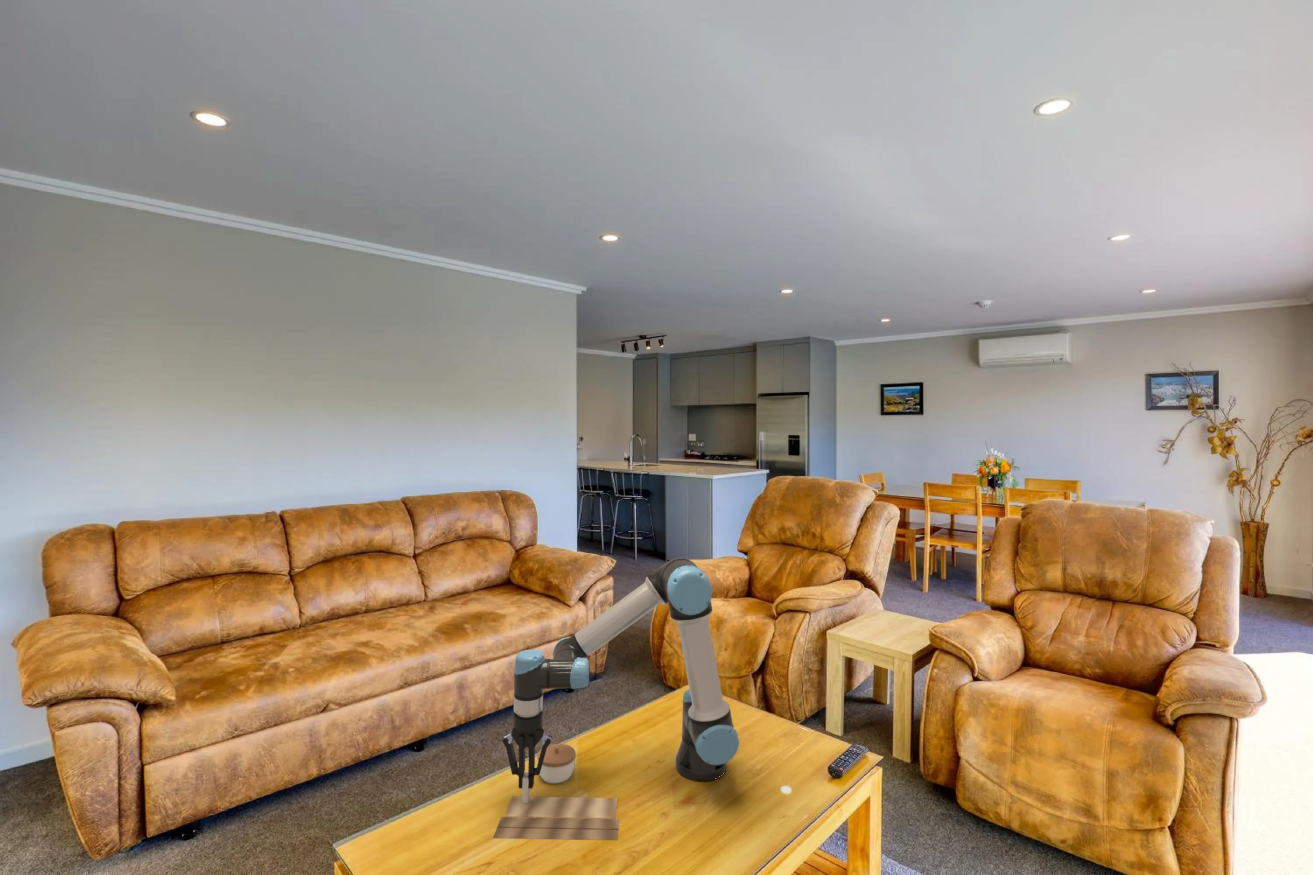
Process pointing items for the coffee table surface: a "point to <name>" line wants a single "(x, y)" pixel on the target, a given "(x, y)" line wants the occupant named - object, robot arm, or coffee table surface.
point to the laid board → (557, 828)
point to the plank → (563, 807)
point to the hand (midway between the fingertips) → (525, 799)
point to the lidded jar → (557, 763)
